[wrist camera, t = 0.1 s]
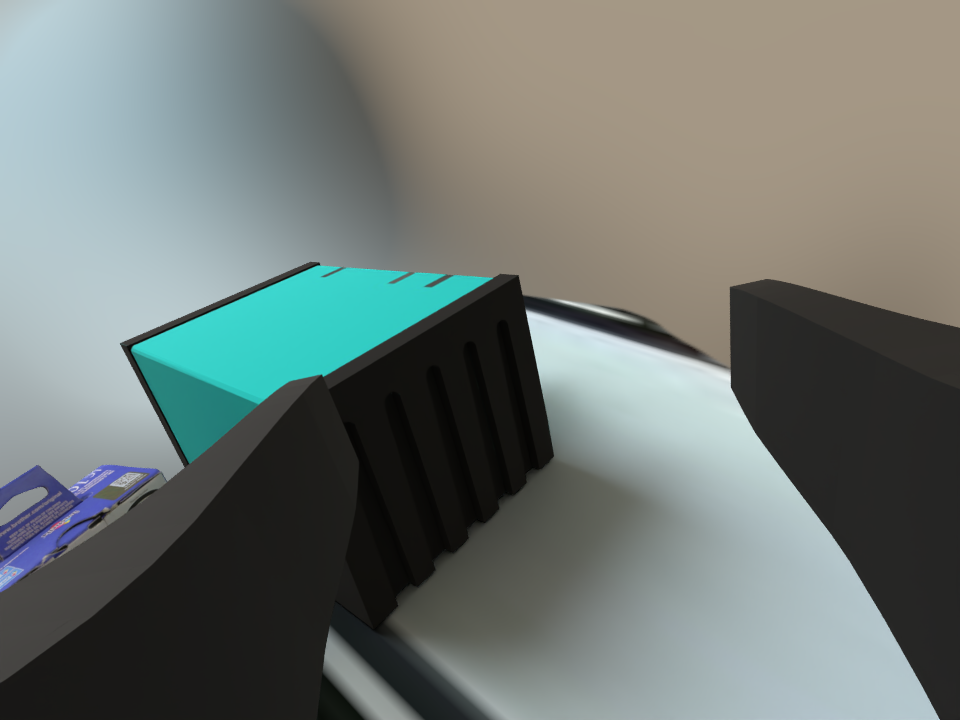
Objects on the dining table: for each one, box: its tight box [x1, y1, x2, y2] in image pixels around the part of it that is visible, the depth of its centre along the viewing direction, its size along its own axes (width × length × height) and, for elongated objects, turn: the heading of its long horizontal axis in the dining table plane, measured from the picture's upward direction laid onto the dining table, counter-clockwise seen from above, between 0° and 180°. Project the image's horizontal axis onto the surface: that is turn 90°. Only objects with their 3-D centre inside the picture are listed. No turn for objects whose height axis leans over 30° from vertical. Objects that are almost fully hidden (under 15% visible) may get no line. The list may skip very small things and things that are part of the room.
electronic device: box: [120, 262, 554, 629], centre depth 46 cm, size 25×25×15 cm
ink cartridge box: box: [0, 465, 167, 592], centre depth 30 cm, size 10×6×14 cm, turn 158°
